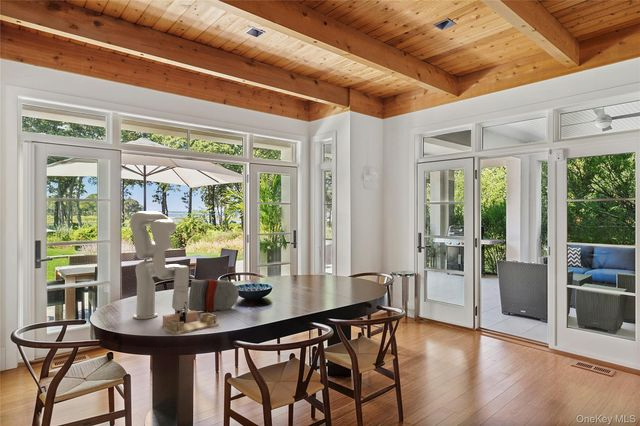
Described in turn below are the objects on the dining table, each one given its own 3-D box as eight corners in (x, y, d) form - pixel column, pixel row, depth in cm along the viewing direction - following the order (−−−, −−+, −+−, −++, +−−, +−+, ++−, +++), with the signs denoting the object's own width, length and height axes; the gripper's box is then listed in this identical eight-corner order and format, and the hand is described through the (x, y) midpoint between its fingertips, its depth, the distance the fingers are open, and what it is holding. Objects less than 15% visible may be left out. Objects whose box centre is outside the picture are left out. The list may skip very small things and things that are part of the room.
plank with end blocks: (175, 334, 191) (176, 324, 191) (164, 329, 200) (164, 319, 200) (218, 325, 209) (218, 316, 209) (206, 321, 217) (206, 312, 217)
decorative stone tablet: (194, 280, 230) (241, 280, 248) (190, 278, 235) (236, 279, 253) (190, 313, 229) (237, 311, 246) (186, 311, 234) (233, 309, 252)
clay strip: (166, 326, 205) (166, 317, 205) (162, 325, 207) (162, 315, 207) (197, 320, 218) (197, 311, 218) (193, 319, 221) (194, 310, 221)
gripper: (167, 287, 216) (166, 320, 216) (182, 291, 204) (181, 326, 204) (180, 285, 221) (179, 318, 221) (195, 289, 210) (194, 324, 210)
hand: (180, 322), depth 213 cm, fingers closed on clay strip, 4 cm apart
